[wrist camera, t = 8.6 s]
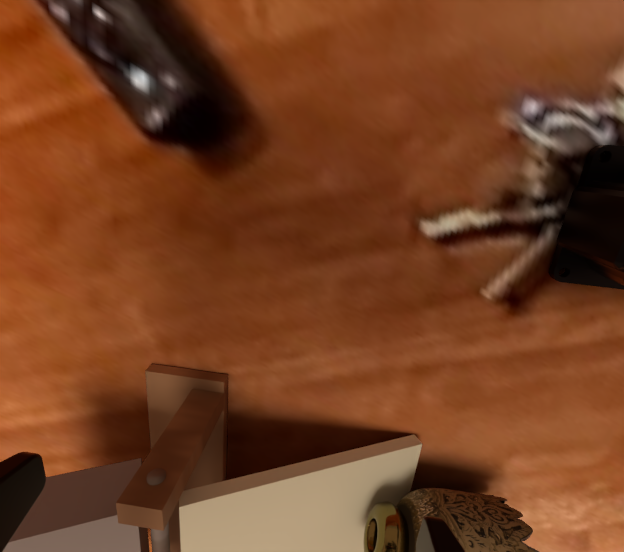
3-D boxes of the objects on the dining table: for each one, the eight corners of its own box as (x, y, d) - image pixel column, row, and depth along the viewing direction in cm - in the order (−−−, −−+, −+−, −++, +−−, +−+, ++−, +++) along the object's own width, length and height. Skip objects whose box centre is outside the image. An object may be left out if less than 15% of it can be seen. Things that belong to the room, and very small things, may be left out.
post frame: (228, 374, 22) (161, 496, 14) (224, 564, 28) (175, 726, 20) (152, 363, 22) (44, 477, 14) (164, 554, 28) (92, 709, 20)
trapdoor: (391, 406, 24) (422, 443, 21) (364, 536, 29) (387, 581, 26) (-28, 492, 16) (-73, 572, 13) (22, 657, 20) (-3, 745, 17)
